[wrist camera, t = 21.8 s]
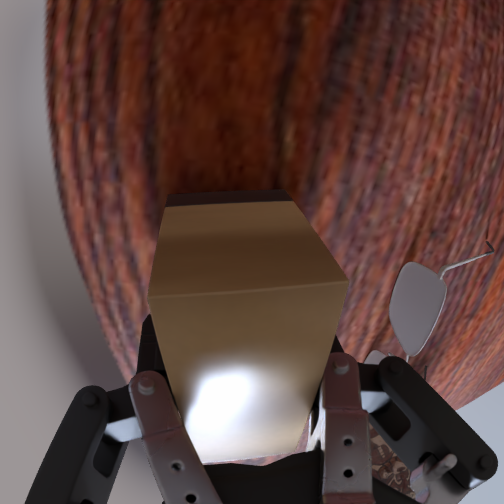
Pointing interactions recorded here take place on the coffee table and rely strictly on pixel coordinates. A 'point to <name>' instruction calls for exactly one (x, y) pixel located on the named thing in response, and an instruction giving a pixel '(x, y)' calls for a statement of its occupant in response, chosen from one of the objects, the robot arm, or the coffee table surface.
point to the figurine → (389, 465)
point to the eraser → (243, 318)
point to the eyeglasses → (416, 306)
